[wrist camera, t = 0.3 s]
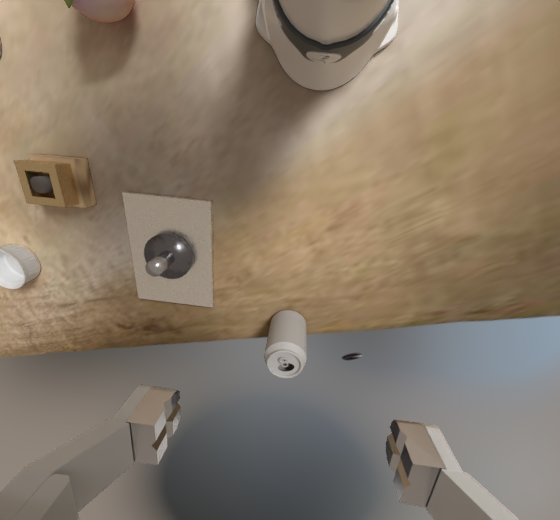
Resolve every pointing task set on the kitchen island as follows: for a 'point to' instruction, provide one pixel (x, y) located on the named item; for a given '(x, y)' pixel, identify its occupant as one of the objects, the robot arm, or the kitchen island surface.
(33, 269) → the ramekin
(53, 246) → the kitchen island surface
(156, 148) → the kitchen island surface
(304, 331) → the can
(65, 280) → the kitchen island surface
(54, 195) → the tan square hollow frame
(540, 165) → the kitchen island surface
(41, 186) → the stand
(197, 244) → the stone base with peg
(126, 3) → the decorative fruit
